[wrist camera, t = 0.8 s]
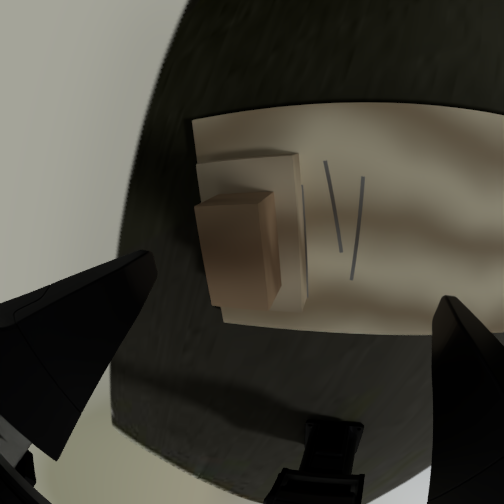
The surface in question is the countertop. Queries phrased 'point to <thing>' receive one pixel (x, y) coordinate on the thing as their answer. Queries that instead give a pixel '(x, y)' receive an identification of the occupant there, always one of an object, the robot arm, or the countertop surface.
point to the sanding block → (253, 232)
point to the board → (382, 210)
